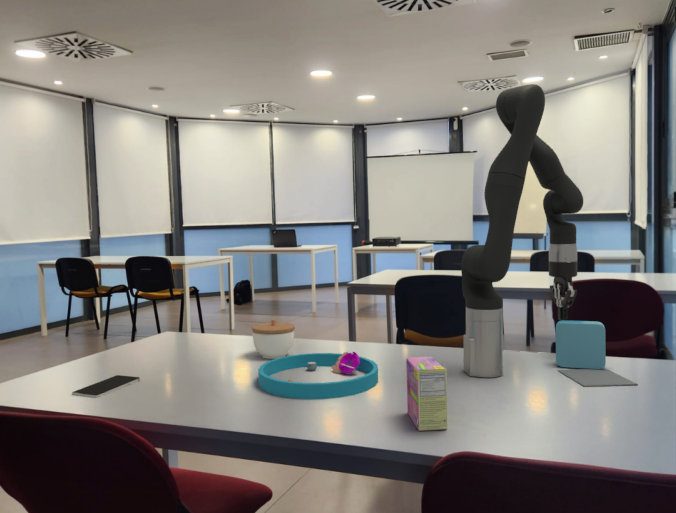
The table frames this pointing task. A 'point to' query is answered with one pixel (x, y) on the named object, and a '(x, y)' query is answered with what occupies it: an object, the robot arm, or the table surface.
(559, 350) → the teal rounded block
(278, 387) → the teal ring
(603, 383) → the slate mat
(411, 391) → the box
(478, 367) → the robot arm
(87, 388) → the smartphone
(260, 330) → the lidded bowl
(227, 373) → the table surface
